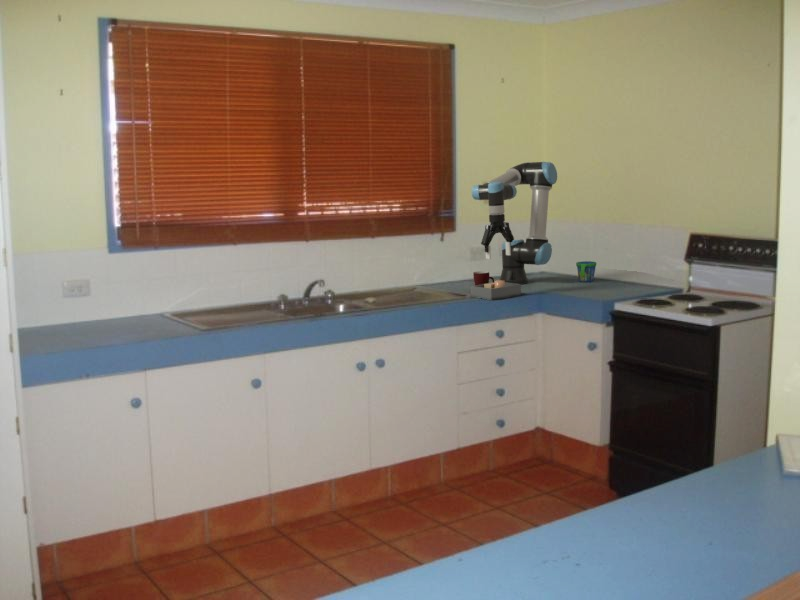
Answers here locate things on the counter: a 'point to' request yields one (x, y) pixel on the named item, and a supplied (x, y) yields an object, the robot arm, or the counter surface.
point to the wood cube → (489, 285)
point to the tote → (496, 291)
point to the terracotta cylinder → (499, 283)
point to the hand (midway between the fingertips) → (498, 257)
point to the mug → (482, 277)
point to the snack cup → (586, 271)
